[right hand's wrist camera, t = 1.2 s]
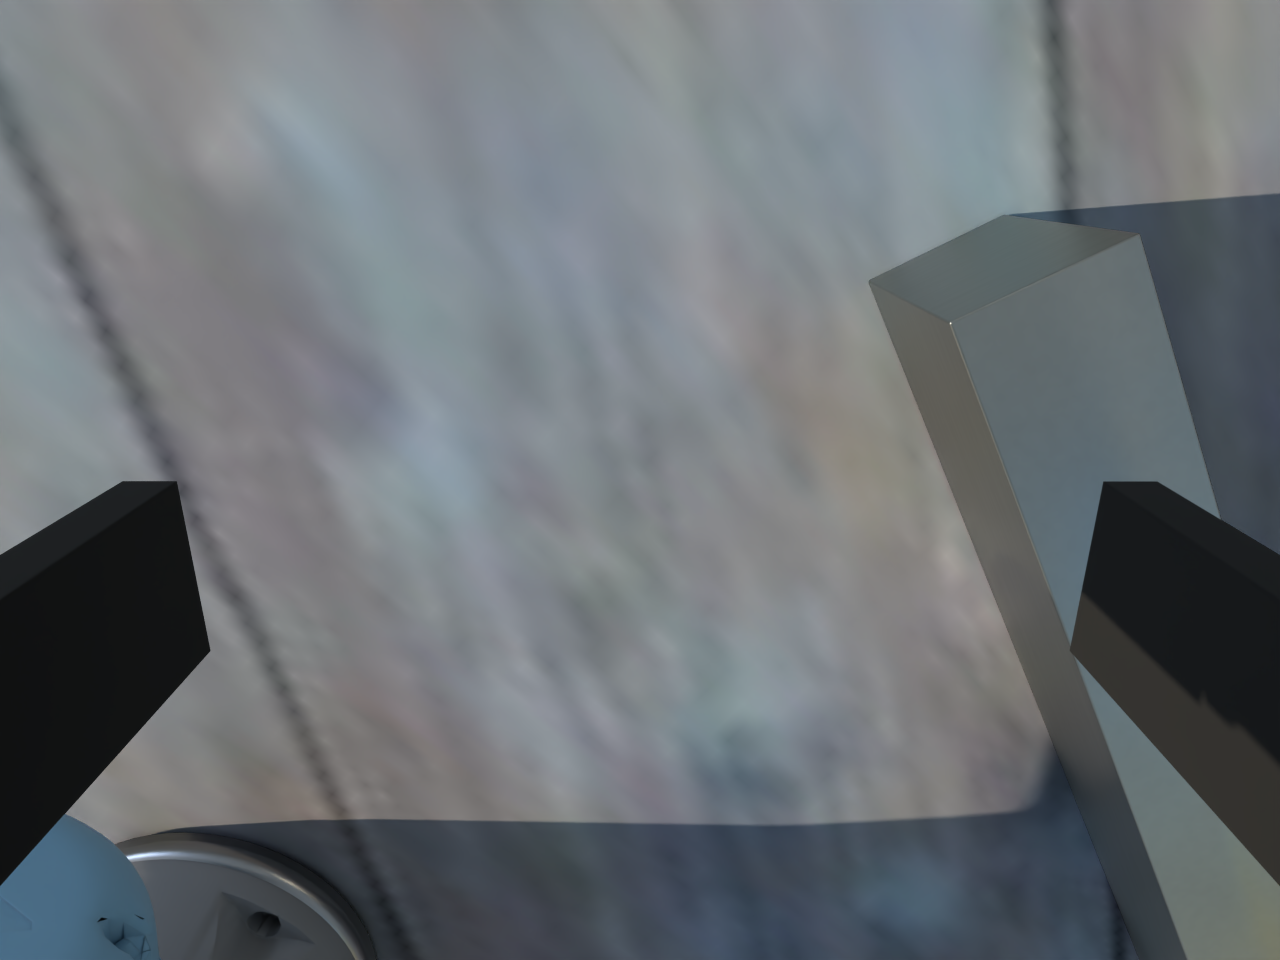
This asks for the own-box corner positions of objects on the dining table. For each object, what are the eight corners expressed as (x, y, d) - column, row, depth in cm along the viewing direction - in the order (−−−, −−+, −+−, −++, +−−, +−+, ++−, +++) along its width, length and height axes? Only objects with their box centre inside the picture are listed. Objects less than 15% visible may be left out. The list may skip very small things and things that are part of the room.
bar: (867, 280, 29) (949, 322, 21) (1004, 213, 28) (1140, 232, 20) (1144, 971, 40) (1263, 1163, 32) (1247, 936, 39) (1395, 1125, 32)
